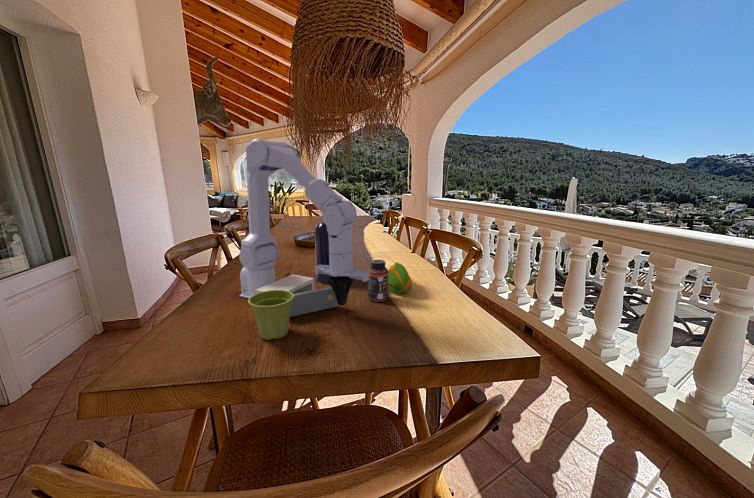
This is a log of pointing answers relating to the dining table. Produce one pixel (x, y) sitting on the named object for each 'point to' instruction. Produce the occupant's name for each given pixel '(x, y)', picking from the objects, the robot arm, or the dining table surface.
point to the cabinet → (291, 284)
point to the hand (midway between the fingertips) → (342, 303)
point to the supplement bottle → (378, 281)
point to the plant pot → (272, 312)
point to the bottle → (322, 250)
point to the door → (313, 301)
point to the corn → (399, 279)
